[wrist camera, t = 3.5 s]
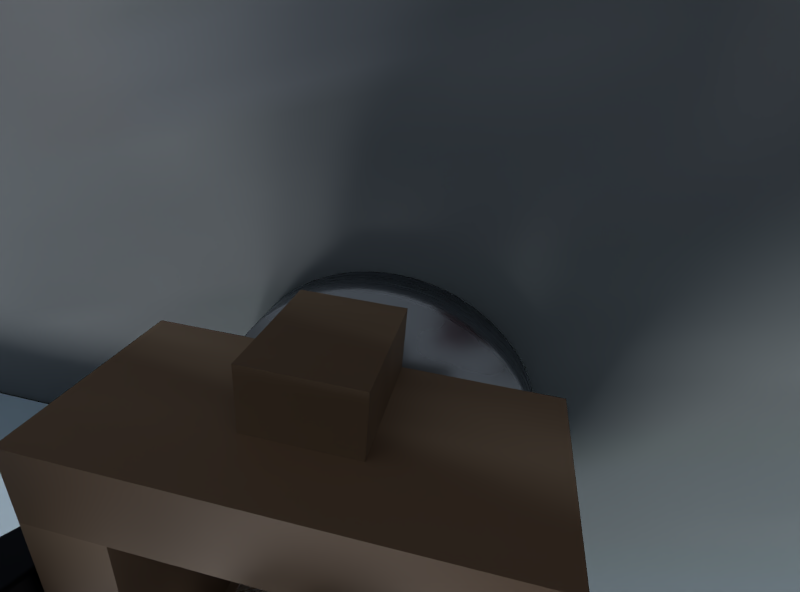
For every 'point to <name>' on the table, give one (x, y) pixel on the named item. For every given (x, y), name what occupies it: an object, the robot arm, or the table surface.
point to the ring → (295, 468)
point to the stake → (426, 331)
